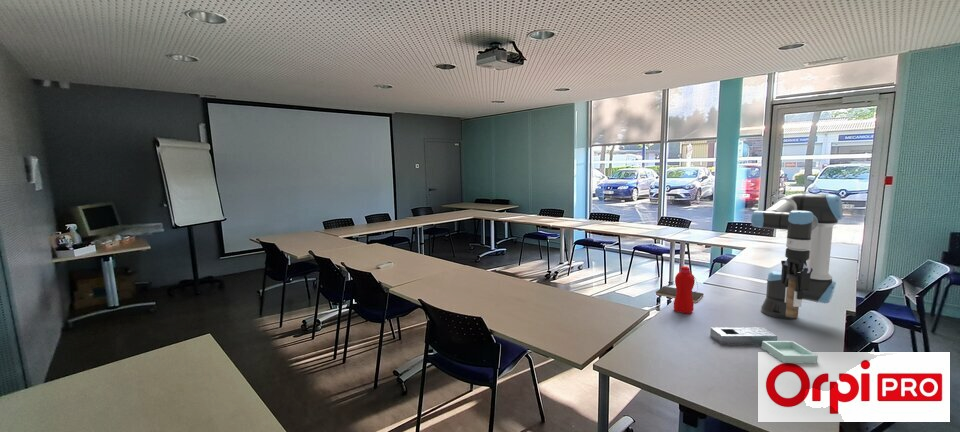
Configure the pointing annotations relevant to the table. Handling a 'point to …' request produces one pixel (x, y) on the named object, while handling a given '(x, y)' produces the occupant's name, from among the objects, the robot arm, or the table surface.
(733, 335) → the block
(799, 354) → the tray
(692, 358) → the table surface
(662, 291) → the hardcover book
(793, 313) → the pin
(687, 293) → the water bottle
